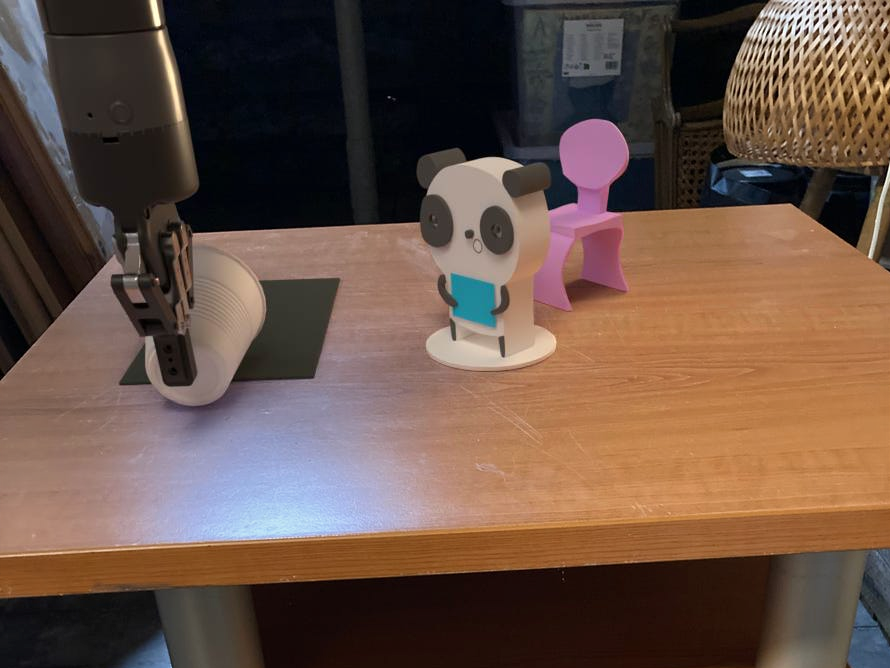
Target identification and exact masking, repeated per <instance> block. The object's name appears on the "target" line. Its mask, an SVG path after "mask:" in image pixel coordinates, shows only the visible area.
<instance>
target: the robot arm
mask: <svg viewBox="0 0 890 668" xmlns="http://www.w3.org/2000/svg"><path fill="white" fill-rule="evenodd" d="M34 1H35V5H36V9H37V14H38V17H39V21H40V26H41V29H42V31H43V32H44V33H43V39H44V45H45V52H46V60H47V68H48V75H49V81H50V84H51V89H52V93H53V97H54V101H55V105H56V110H57V113H58V118H59V120H60V125H61V130H62V133H63V138H64V141H65V144H66V150H67V153H68V157H69V161H70V165H71V170H72V173H73V176H74V181H75V185H76V190H77V193H78V196H79V197H80V199H81V200H82V201H83V202H84V203H86V204H88V205H90V206H93V207H96V208H101V207H102V208H104V209H106V210H108V211H109V212H110V213H111V214H112V216H113V221H112V222H113V227H114V233H112V235H111V243H112V247H113V251H114V255H115V259H116V261H117V262H118V264H120V266H121V267H122V271H123V273H113V274H111V276H110V287H111V290H112V292H113V294H114V296H115V298H116V299H117V301H118V302H119V304H120V306H121V307H122V309H123V310H124V312H125V314H126V316H127V317H128V319H129V321H130V322H131V324H132V325H133V327H134V329H135V331H136V332H137V334H138V336H139V337H140V338H142V337H144V338H145V337H146V336H153V341H154V345H155V349H156V354H157V358H158V363H159V367H160V372H161V376H162V380H163V383H164V384H165V385H166V386H168V387H181V386H191V385H192V384H193V382H194V380H195V378H196V376H197V374H198V372H197V367H196V362H195V357H194V352H193V347H192V342H191V337H190V333H189V328H186V327H190V325H191V314H190V311H189V309H193V308H194V304H195V298H194V282H193V248H192V243H193V236H194V233H193V230H192V228H191V225H190V224H185V222H184V220H179V216H178V209H177V206H176V204H175V203H178V202H181V201H184V200H186V199H189V198H191V197H192V196H193V195H194V194H195V193H197V191H198V189H199V187H200V180H199V173H198V167H197V163H196V158H195V157H196V156H195V151H194V146H193V145H194V144H193V140H192V134H191V129H190V124H189V117H188V114H187V113H188V112H187V108H186V102H185V96H184V91H183V86H182V85H183V84H182V79H181V75H180V70H179V66H178V63H177V59H176V55H175V51H174V49H173V45H172V42H171V40H170V36H169V30H168V27H167V25H166V24H167V19H166V14H165V9H164V4H163V0H34Z"/></svg>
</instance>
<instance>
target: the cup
mask: <svg viewBox="0 0 890 668" xmlns="http://www.w3.org/2000/svg"><path fill="white" fill-rule="evenodd" d="M192 248H193V282H194V298H195V304H194V308H193V309H189V311H190V314H191V325H190V327H186V328H189V333H190V337H191V342H192V347H193V352H194V357H195V362H196V367H197V372H198V374H197V376H196V378H195V380H194V382H193V384H192V385H191V386H181V387H168V386H166V385H165V384H164V383H163V380H162V376H161V372H160V367H159V363H158V358H157V354H156V349H155V345H154V341H153V336H146V337H144V339H145V340H144V344H145V367H146V372H147V375H148V378H149V380H150V382H151V383H152V384H151V385H152V386H153V388H154V389H155V390H156V391H157V392H158V393H159V394H161V395H162V396H164V398H166V399H168V400H170V401H171V402H174V403H177V404H180V405H182V406H189V407H198V406H199V407H200V406H201V407H202V406H206V405H209V404H212V403H214V402H216V401H217V400H219V399H220V398H221V397H222V396H223V395H224V394H225V393H226V391H227V389H228V388H229V386H230V384H231V382H232V381H231V380H232V378H233V376H234V374H235V372H236V370H237V368H238V366H239V364H240V363H241V361H242V359H243V357H244V355H245V353H246V351H247V349H248V348H249V346H250V344H251V342H252V340H254V339H255V338H256V336H257V335H258V333H259V332H260V330H261V328H262V326H263V323H264V321H265V314H266V301H265V296H264V293H263V289H262V287H261V285H260V283H259V281H258V280H259V279H258V277H257V276H256V275H255V273H254V272H253V271H252V269H251V268H250V267H249V266H248V265H247V264H246V263H245V262H244V261H242V259H241V258H239V257H238V256H236V255H234V254H233V253H231V252H230V251H228V250H225V249H223V248H221V247H218V246H215V245H211V244H207V243H200V242H199V243H196V242H192Z"/></svg>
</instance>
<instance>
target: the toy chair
mask: <svg viewBox="0 0 890 668" xmlns="http://www.w3.org/2000/svg"><path fill="white" fill-rule="evenodd" d="M558 150H559V159H560V165H561V169H562V174H563V175H564V176H565V177H566V179H568V180H569V181H570V182H571V183H573V184H574V185H575V186H576V187H577V203H575V202H572V203H568V204H565V205H562V206H559V207H556V208H554V209H550V210H548V213H549V220H550V245H549V250H548V254H547V257H546V259H545V261H544V263H543V265H542V267H541V268H540V269H539V271H538V272H536V273H535V274H534V301H536V302H540V303H542V304H546V305H548V306H551V307H555V308H558V309H561V310H564V311H567V312H572V311H573V307H572V306H571V303H570V301H569V297H568V295H567V293H566V289H565V285H564V277H563V276H564V268H565V265H566V262H567V260H568V257H569V256H570V254H571V252H572V249H573V247H574V245H575V243H576V242H578V240H581V245H582V250H583V253H582V254H583V256H582V257H583V258H582V265H581V271H580V279H582V280H585V281H589V282H592V283H596V284H598V285H603V286H605V287H608V288H612V289H615V290H619V291H622V292H629V291H630V289H629V286H628V283H627V281H626V278H625V275H624V272H623V268H622V264H621V256H620V255H621V249H622V248H621V247H622V243H623V239H624V236H625V235H624V234H625V228H624V225H623V218H624V217H623V214H621V213H617V212H612V211H607V207H608V200H609V192H610V191H609V190H610V186H611V185H612V184H613V182H614V181H615V180H617V179H619V178H620V176H622V175H623V174H624V172H625V171H626V170H627V167H628V166H629V161H630V151H629V147H628V144H627V141H626V139H625V136H624V135H623V134H622V132H621V131H620V130H619V128H618V127H617V125H616V124H614V123H613V122H612V121H609V120H606V119H601V118H592V119H586V120H582V121H580V122H578V123H575V124H574V125H572V126H570V127H569V128H567V129H566V131H564V132H563V134H562V135H561V136H560V140H559V149H558Z"/></svg>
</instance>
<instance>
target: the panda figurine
mask: <svg viewBox="0 0 890 668" xmlns="http://www.w3.org/2000/svg"><path fill="white" fill-rule="evenodd" d="M416 178H417V181H418V183H419V185H420V186H421V187H422V188H423V189H427V193H426V195H425V196H424V197H423V198H422V202H421V206H420V211H419V212H420V213H419V226H420V234H421V237H422V239H423V241H424V242H425V243H426V244H427V248H428V250H429V252H430V254H431V256H432V258H433V260H434V262H435V264H436V266H437V267H438V268H439V270H440V271H441V273H443V274H440V275H439V277H438V279H437V282H436V283H437V290H438V293H439V295H440V297H441V299H442V300H443V302H444V303H445V304H446V305H448V313H449V325H448V326H445V327H443V328H441V329H438V330H436V331H434V332H433V333H432V334H431V335H430V336H429V337H428V338H427V339H426V342H425V351H426V354H427V356H429V357H430V358H431V359H432V360H433V361H435V362H437V363H439V364H441V365H444V366H447V367H450V368H453V369H458V370H466V371H475V372H499V371H510V370H516V369H517V370H518V369H521V368H526V367H530V366H533V365H536V364H538V363H540V362H543V361H545V360H547V359H548V358H549V357H551V356H552V355H553V354H554V353H555V352H556V349H557V338H556V337H555V335H554V333H552V332H551V331H550V330H548V329H546V328H545V327H543V326H539V325H537V324H535V319H534V318H535V316H534V315H535V314H534V309H535V308H534V307H535V306H534V302H535V300H534V274H535V273H536V272H538V271H539V269H540V268H541V267H542V265H543V263H544V261H545V259H546V257H547V254H548V250H549V245H550V220H549V213H548V211H549V209H548V204H547V199H546V196H545V193H544V190H548V189H550V187H551V185H552V175H551V170H550V168H549V166H548V165H547V164H546V163H545V162H542V161H539V162H534V163H530V164H527V165H522V164H521V163H519V162H516V161H514V160H511V159H507V158H504V157H498V156H487V157H481V158H477V159H473V160H469V161H467V159H466V155H465V154H464V152H463V151H462V150H461V149H460V148H459V147H455V148H450V149H445V150H441V151H437V152H433V153H429V154H424V155H423V156H420V158H419V159H418V161H417V165H416Z"/></svg>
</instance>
